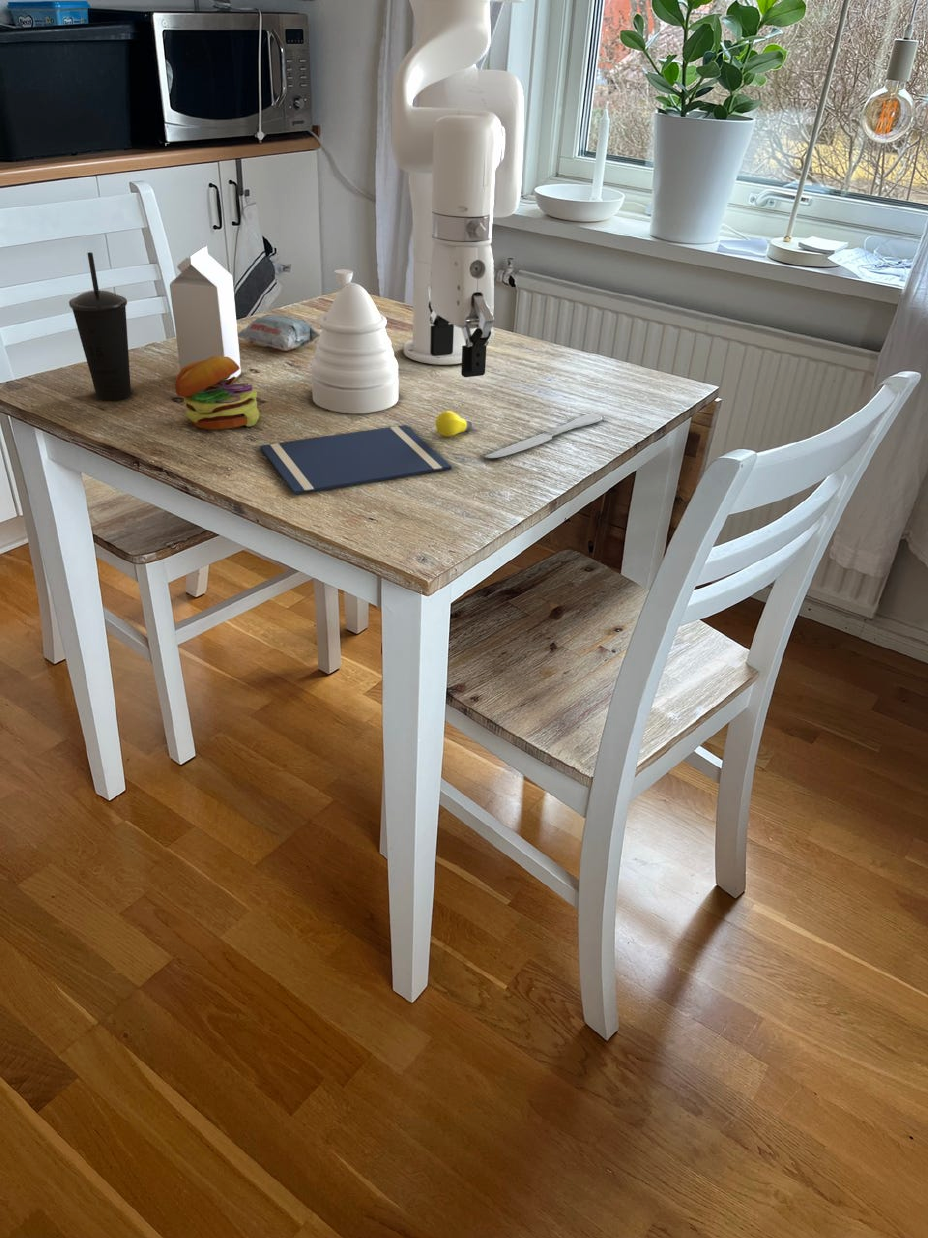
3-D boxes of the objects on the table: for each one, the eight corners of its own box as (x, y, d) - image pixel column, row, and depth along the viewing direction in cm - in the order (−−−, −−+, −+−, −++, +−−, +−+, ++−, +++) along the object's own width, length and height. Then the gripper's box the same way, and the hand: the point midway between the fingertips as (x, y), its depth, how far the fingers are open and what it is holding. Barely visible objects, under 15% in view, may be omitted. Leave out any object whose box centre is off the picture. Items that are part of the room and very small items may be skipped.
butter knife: (607, 417, 138) (591, 411, 140) (494, 459, 123) (478, 452, 125) (606, 419, 138) (591, 414, 140) (494, 462, 124) (478, 455, 125)
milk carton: (241, 373, 149) (229, 247, 139) (227, 388, 143) (214, 257, 133) (197, 370, 149) (182, 244, 139) (182, 385, 143) (165, 254, 133)
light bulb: (429, 435, 131) (431, 409, 130) (463, 439, 134) (465, 413, 134) (444, 436, 128) (446, 409, 128) (478, 439, 132) (480, 414, 131)
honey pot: (294, 396, 142) (287, 271, 132) (359, 377, 150) (356, 259, 140) (351, 420, 134) (348, 290, 125) (415, 399, 142) (417, 276, 133)
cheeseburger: (240, 438, 127) (216, 365, 122) (176, 444, 131) (150, 374, 126) (276, 412, 135) (255, 343, 130) (214, 418, 139) (191, 351, 134)
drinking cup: (93, 385, 142) (68, 245, 131) (145, 386, 142) (124, 247, 132) (80, 403, 135) (52, 258, 124) (135, 404, 136) (112, 259, 125)
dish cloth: (406, 427, 133) (406, 424, 133) (451, 468, 122) (451, 465, 122) (260, 448, 125) (259, 445, 125) (294, 494, 114) (294, 491, 113)
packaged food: (289, 360, 155) (287, 330, 152) (234, 346, 160) (231, 317, 157) (321, 347, 162) (320, 318, 159) (267, 335, 166) (265, 306, 164)
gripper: (521, 240, 112) (512, 381, 121) (458, 215, 125) (454, 344, 134) (465, 243, 109) (459, 387, 118) (406, 217, 122) (405, 349, 131)
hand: (456, 364), depth 126 cm, fingers open, 9 cm apart
